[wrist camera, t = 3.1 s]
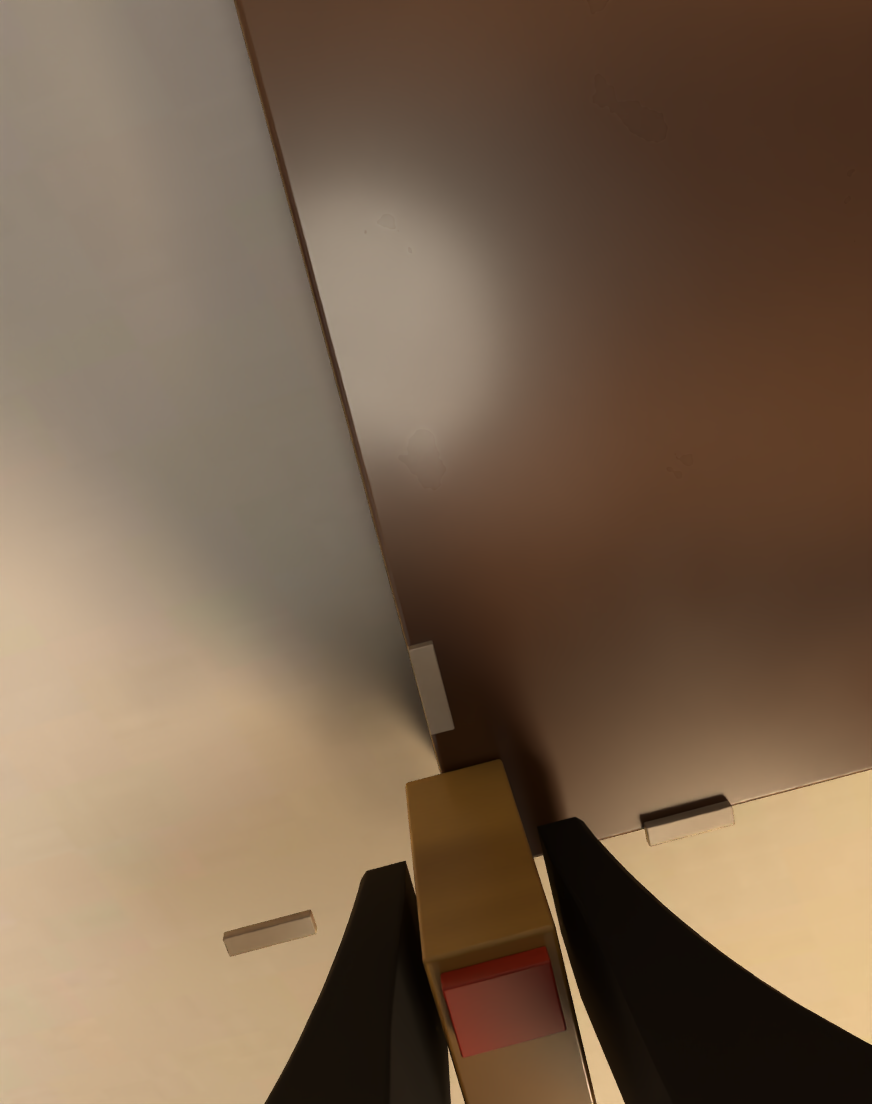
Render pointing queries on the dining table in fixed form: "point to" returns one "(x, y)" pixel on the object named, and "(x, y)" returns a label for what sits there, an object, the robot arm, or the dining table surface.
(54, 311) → the dining table surface
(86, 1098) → the dining table surface
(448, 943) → the tap handle
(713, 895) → the dining table surface
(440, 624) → the panel
